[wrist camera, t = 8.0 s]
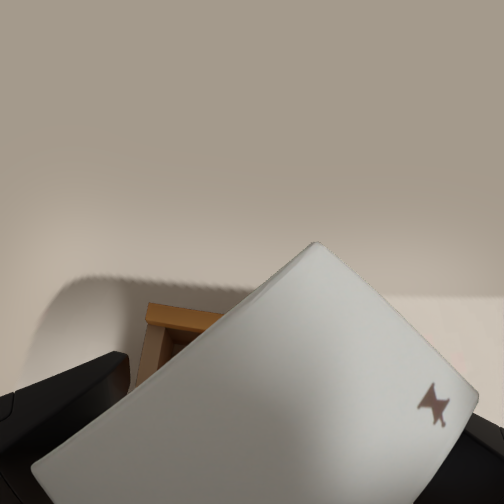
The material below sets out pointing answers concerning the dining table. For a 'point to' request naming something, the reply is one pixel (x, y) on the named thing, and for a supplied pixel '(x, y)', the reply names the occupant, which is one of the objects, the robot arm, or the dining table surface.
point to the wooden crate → (169, 335)
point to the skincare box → (278, 406)
